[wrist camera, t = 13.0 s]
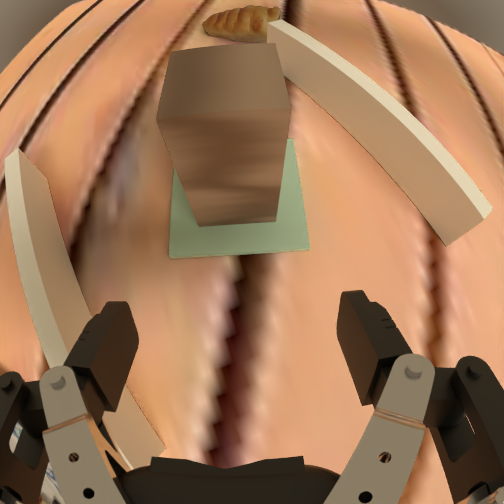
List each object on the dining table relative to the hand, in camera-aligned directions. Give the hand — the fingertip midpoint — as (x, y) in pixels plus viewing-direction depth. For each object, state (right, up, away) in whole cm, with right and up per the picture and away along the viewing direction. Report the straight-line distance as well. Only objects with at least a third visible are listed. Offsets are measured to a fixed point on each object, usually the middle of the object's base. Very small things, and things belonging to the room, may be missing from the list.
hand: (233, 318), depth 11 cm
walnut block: (0, +7, +9) cm, 11 cm away
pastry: (0, +28, +18) cm, 34 cm away
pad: (0, +6, +10) cm, 12 cm away
